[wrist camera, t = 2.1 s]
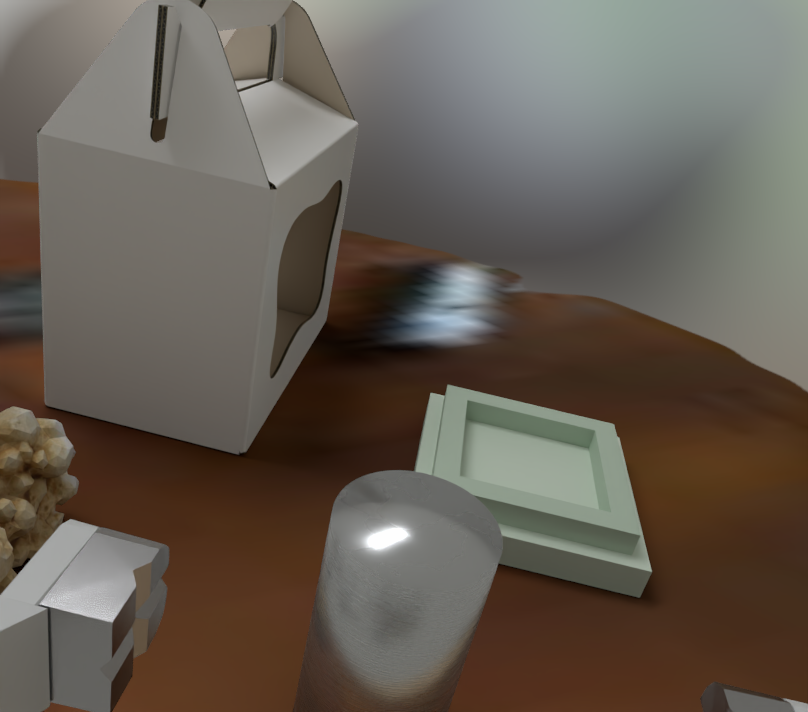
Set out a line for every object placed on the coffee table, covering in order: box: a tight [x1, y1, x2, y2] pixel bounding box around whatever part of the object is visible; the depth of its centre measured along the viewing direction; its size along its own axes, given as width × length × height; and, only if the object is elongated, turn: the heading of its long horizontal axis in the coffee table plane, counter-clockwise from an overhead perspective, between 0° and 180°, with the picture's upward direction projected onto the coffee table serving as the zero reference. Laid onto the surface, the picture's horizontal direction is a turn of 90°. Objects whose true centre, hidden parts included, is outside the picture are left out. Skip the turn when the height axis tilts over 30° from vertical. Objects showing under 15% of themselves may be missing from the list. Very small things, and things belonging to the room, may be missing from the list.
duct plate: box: [414, 385, 652, 598], centre depth 48 cm, size 14×14×4 cm
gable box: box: [37, 0, 358, 455], centre depth 50 cm, size 22×13×28 cm, turn 171°
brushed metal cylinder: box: [293, 470, 503, 712], centre depth 28 cm, size 6×6×12 cm
